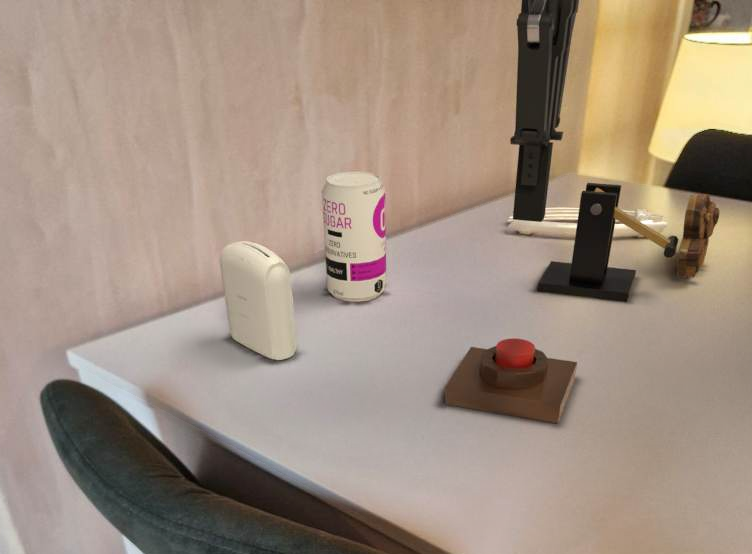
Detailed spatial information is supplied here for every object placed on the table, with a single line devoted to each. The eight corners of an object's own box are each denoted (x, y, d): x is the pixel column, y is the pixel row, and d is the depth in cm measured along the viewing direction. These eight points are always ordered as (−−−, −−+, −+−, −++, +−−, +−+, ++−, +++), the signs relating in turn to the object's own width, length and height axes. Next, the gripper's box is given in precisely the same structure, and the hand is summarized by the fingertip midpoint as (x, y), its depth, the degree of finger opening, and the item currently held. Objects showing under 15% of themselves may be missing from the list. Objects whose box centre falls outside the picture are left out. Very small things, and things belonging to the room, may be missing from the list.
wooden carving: (705, 290, 104) (724, 215, 98) (669, 287, 105) (686, 212, 99) (707, 251, 116) (724, 182, 110) (675, 248, 118) (690, 180, 111)
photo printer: (225, 338, 95) (211, 239, 88) (254, 328, 98) (242, 230, 90) (273, 365, 89) (262, 260, 82) (302, 354, 91) (294, 251, 84)
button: (536, 356, 81) (538, 341, 80) (528, 372, 79) (530, 357, 77) (500, 351, 83) (501, 336, 82) (490, 367, 80) (492, 351, 79)
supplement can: (391, 283, 109) (390, 171, 100) (378, 305, 103) (377, 188, 93) (336, 279, 111) (330, 169, 101) (320, 301, 104) (313, 186, 95)
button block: (574, 379, 85) (579, 346, 82) (557, 423, 77) (562, 388, 75) (469, 364, 88) (471, 331, 86) (444, 404, 81) (445, 370, 79)
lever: (671, 251, 103) (683, 235, 101) (668, 263, 99) (680, 247, 97) (588, 200, 103) (598, 184, 101) (582, 211, 99) (592, 194, 97)
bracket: (634, 278, 108) (653, 183, 100) (627, 301, 102) (646, 202, 94) (550, 269, 112) (561, 176, 104) (537, 291, 105) (548, 194, 98)
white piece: (666, 242, 120) (506, 237, 124) (658, 223, 128) (507, 218, 131) (670, 225, 118) (508, 220, 122) (661, 206, 126) (509, 202, 130)
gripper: (530, -101, 63) (505, 196, 78) (490, -104, 54) (471, 235, 68) (623, -104, 61) (580, 202, 75) (599, -108, 51) (555, 244, 66)
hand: (528, 218), depth 72 cm, fingers closed
